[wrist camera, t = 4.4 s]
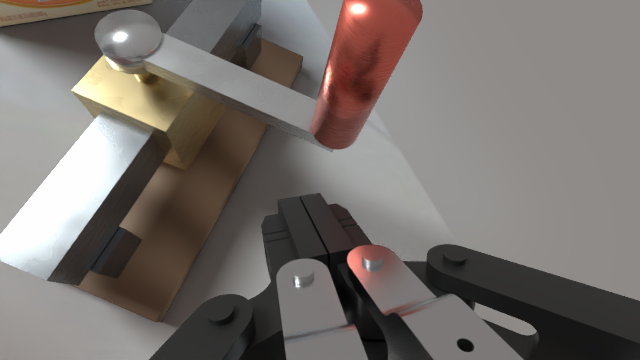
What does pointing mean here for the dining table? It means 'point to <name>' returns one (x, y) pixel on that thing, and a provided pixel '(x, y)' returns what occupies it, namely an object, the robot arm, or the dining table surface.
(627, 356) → the robot arm
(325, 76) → the lever
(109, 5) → the coffeecake box
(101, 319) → the dining table surface
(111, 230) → the pipe valve
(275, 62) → the board
